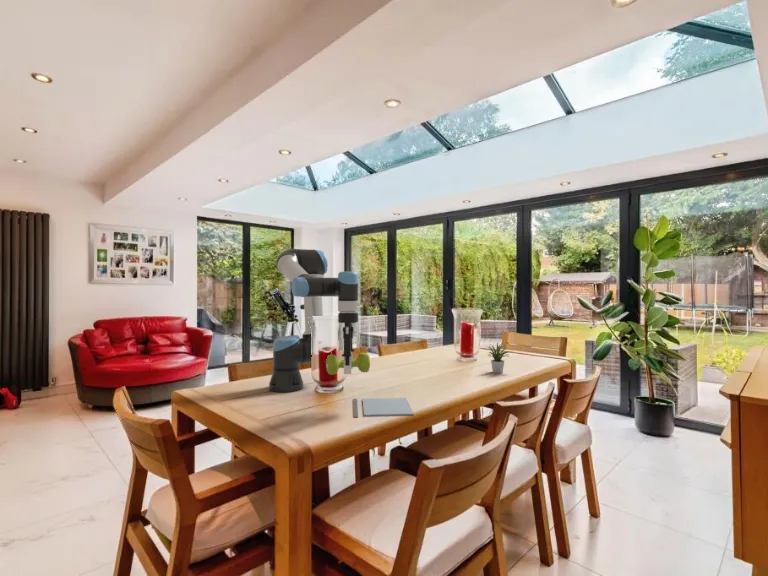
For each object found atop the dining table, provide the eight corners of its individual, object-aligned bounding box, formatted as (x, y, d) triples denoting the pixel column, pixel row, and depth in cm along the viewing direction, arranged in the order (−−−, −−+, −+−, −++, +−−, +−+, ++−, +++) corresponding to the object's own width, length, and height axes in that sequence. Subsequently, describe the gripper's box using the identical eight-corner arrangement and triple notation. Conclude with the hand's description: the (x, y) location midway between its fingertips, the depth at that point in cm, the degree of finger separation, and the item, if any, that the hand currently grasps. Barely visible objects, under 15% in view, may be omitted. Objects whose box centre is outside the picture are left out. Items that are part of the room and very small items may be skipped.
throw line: (353, 417, 141) (353, 416, 141) (353, 399, 163) (353, 398, 163) (358, 417, 141) (358, 416, 141) (357, 399, 163) (357, 398, 163)
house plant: (494, 376, 205) (494, 345, 205) (477, 371, 218) (478, 341, 217) (515, 374, 211) (516, 343, 210) (498, 368, 223) (498, 340, 223)
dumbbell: (328, 376, 144) (328, 356, 144) (324, 372, 152) (324, 353, 152) (371, 373, 149) (371, 354, 149) (366, 369, 157) (366, 351, 157)
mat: (364, 416, 142) (364, 414, 142) (362, 400, 162) (362, 398, 162) (413, 415, 144) (413, 413, 144) (405, 399, 163) (405, 397, 163)
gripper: (357, 313, 140) (357, 377, 140) (358, 310, 162) (359, 365, 161) (335, 313, 140) (335, 377, 139) (340, 310, 161) (340, 366, 161)
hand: (348, 371), depth 150 cm, fingers closed on dumbbell, 9 cm apart
